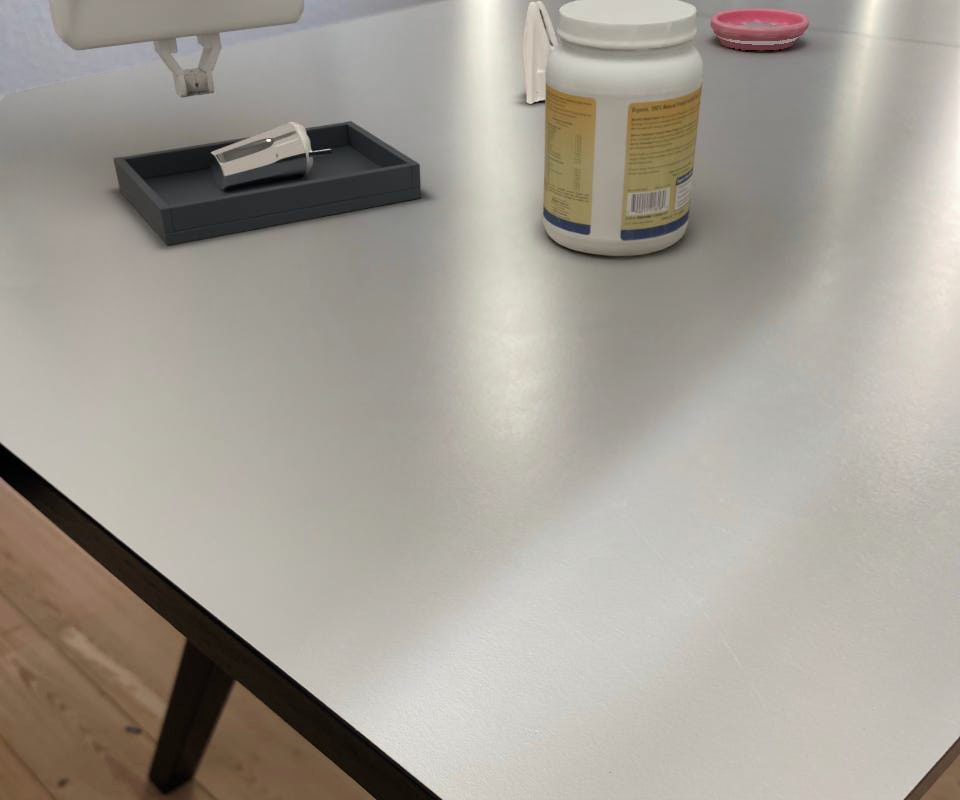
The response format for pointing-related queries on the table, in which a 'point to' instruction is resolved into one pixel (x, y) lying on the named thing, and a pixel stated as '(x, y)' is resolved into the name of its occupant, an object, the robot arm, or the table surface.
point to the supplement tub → (621, 125)
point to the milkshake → (264, 157)
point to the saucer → (730, 20)
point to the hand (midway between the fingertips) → (195, 94)
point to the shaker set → (537, 50)
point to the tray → (265, 186)
